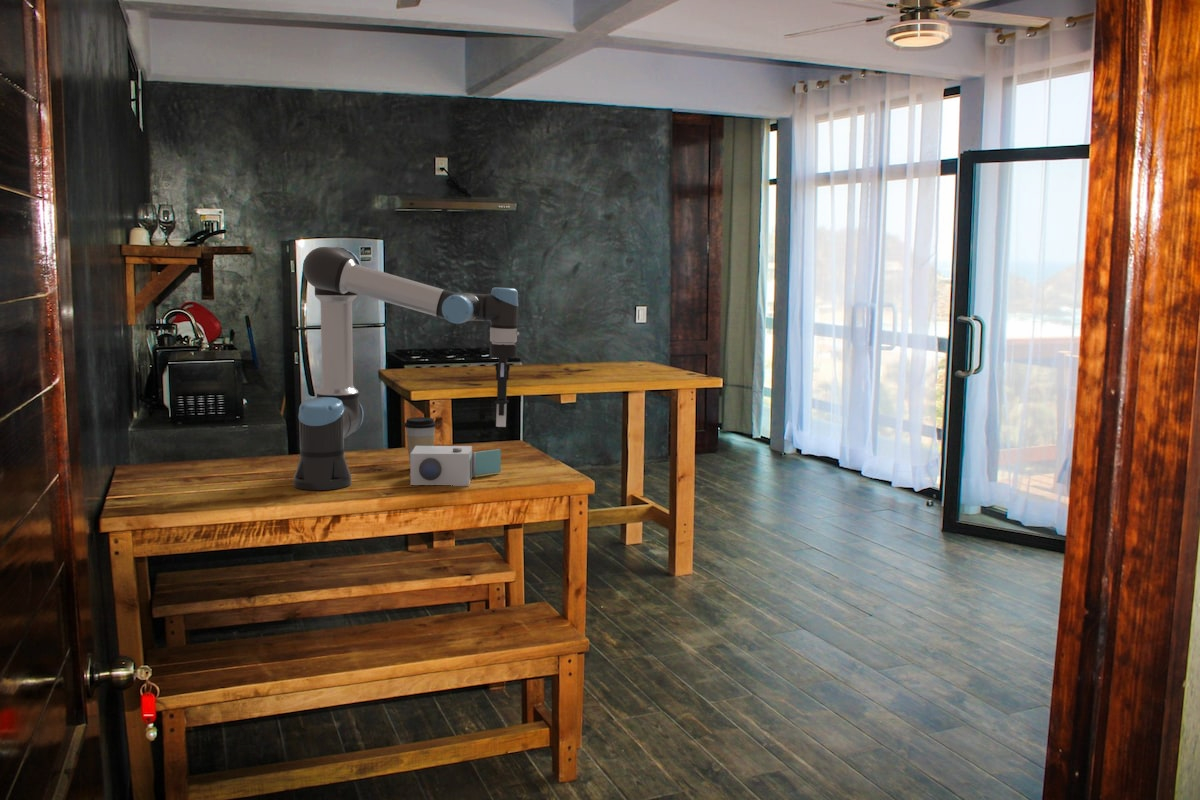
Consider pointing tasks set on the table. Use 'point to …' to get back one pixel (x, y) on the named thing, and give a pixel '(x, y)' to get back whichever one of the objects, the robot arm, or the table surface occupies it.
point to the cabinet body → (441, 465)
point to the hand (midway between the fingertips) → (500, 426)
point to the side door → (486, 462)
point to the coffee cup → (419, 432)
